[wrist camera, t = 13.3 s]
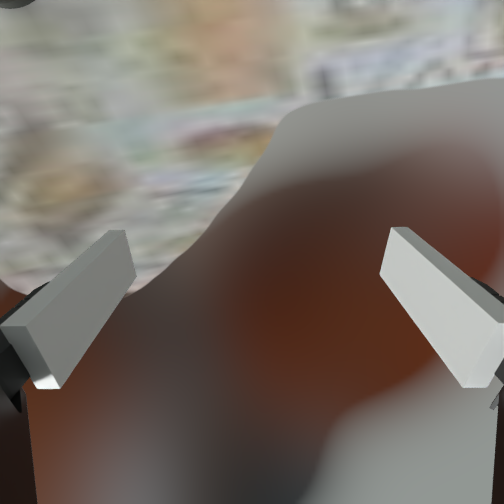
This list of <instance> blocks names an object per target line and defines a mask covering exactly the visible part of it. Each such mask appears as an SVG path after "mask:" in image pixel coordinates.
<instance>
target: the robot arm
mask: <svg viewBox="0 0 504 504" xmlns="http://www.w3.org/2000/svg"><path fill="white" fill-rule="evenodd" d="M33 1H34V0H0V8H8V9H12V8H20V7H23V6H26V5H28V4H30V3H31V2H33ZM380 276H381V277H382V278H383V280H384V281H385V282H386V284H387V285H388V287H389V288H390V289H391V291H392V292H393V293H394V295H395V296H396V297H397V299H398V300H399V301H400V303H401V304H402V306H403V307H404V308H405V310H406V311H407V312H408V314H409V315H410V317H411V318H412V319H413V321H414V322H415V323H416V324H417V326H418V327H419V329H420V330H421V331H422V333H423V334H424V336H425V337H426V338H427V340H428V341H429V342H430V344H431V345H432V346H433V348H434V349H435V350H436V352H437V353H438V355H439V356H440V357H441V359H442V360H443V361H444V363H445V364H446V365H447V367H448V368H449V370H450V371H451V372H452V374H453V375H454V376H455V378H456V379H457V380H458V381H459V383H460V384H461V386H462V387H463V388H487V387H488V385H489V383H490V382H491V380H492V378H493V377H494V375H496V376H497V377H498V378H499V379H500V381H501V382H502V383H503V384H504V297H502V296H499V294H498V293H497V292H496V291H494V290H493V289H492V288H491V287H489V286H488V285H486V284H484V283H482V282H480V281H478V280H476V279H475V278H472V277H469V276H467V275H466V274H465V273H464V272H462V271H461V270H460V269H459V268H458V267H456V266H455V265H454V264H452V263H451V262H450V261H449V260H448V259H446V258H445V257H444V256H442V255H441V254H440V253H439V252H438V251H436V250H435V249H434V248H433V247H431V246H430V245H429V244H427V243H426V242H425V241H424V240H423V239H421V238H420V237H419V236H417V235H416V234H415V233H414V232H413V231H411V230H410V229H409V228H408V227H391V231H390V235H389V239H388V243H387V247H386V251H385V255H384V259H383V263H382V267H381V271H380ZM136 277H137V275H136V272H135V268H134V264H133V260H132V256H131V252H130V248H129V245H128V241H127V237H126V233H125V230H109V231H108V232H107V233H106V234H104V235H103V236H102V237H101V238H100V239H99V240H98V241H96V242H95V243H94V244H93V245H92V246H91V247H90V248H88V249H87V250H86V251H85V252H84V253H83V254H81V255H80V256H79V257H78V258H77V259H76V260H75V261H73V262H72V263H71V264H70V265H69V266H68V267H67V268H65V269H64V270H63V271H62V272H61V273H60V274H58V275H57V276H56V277H55V278H54V279H53V280H52V281H50V282H47V283H45V284H44V285H42V286H40V287H38V288H36V289H34V290H33V291H32V292H31V293H30V294H29V295H27V296H26V297H25V298H24V300H21V301H20V302H19V303H18V304H17V305H15V308H12V309H11V310H10V311H8V312H7V313H6V314H5V315H4V316H2V317H1V318H0V504H37V495H36V486H35V476H34V467H33V457H32V447H31V438H30V429H29V419H28V410H27V400H26V394H25V392H24V390H23V388H22V386H23V385H24V383H25V382H26V381H27V380H28V379H29V377H30V378H31V379H32V381H33V383H34V384H35V386H36V387H37V388H38V389H60V388H61V387H62V385H63V384H64V383H65V381H66V380H67V378H68V377H69V375H70V374H71V372H72V370H73V369H74V368H75V366H76V365H77V363H78V362H79V361H80V359H81V358H82V356H83V355H84V353H85V352H86V350H87V349H88V347H89V345H90V344H91V343H92V341H93V340H94V338H95V337H96V335H97V334H98V333H99V331H100V330H101V328H102V327H103V325H104V324H105V322H106V321H107V320H108V318H109V317H110V315H111V314H112V312H113V311H114V309H115V307H116V306H117V304H118V303H119V302H120V300H121V299H122V298H123V296H124V295H125V293H126V292H127V290H128V289H129V287H130V286H131V284H132V283H133V281H134V280H135V278H136ZM496 406H498V419H497V432H496V433H497V434H496V447H495V460H494V474H493V475H494V476H493V490H492V503H491V504H504V386H503V387H502V389H501V390H500V392H499V393H498V395H497V396H496V398H495V399H494V401H493V402H492V404H491V406H490V408H491V409H493V410H494V409H495V407H496Z"/></svg>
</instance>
